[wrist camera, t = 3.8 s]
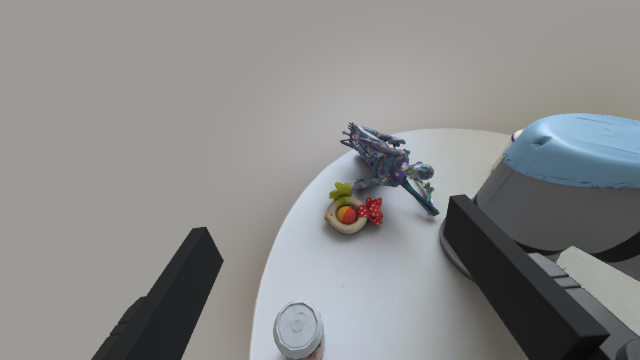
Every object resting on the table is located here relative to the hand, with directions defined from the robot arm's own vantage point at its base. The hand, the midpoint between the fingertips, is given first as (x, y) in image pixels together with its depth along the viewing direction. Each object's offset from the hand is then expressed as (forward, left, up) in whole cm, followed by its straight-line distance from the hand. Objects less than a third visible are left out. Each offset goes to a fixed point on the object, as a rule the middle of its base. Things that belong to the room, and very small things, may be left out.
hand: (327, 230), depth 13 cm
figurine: (-22, +1, -19) cm, 29 cm away
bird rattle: (-15, -4, -25) cm, 29 cm away
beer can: (+3, -2, -26) cm, 26 cm away
